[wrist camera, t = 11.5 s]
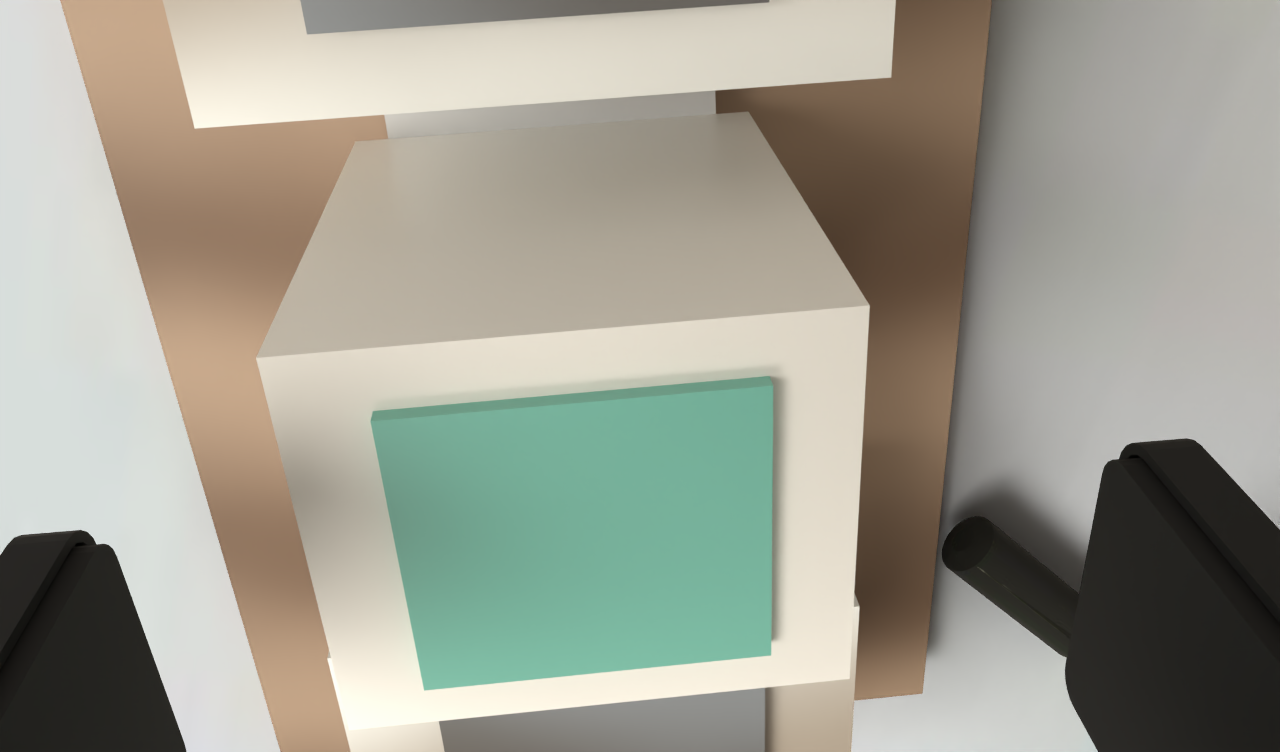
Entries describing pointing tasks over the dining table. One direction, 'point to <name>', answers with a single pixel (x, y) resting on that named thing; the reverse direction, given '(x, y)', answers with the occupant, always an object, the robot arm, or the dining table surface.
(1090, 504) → the dining table surface
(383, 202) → the module block
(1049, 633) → the handheld radio
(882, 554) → the board
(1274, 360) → the dining table surface
